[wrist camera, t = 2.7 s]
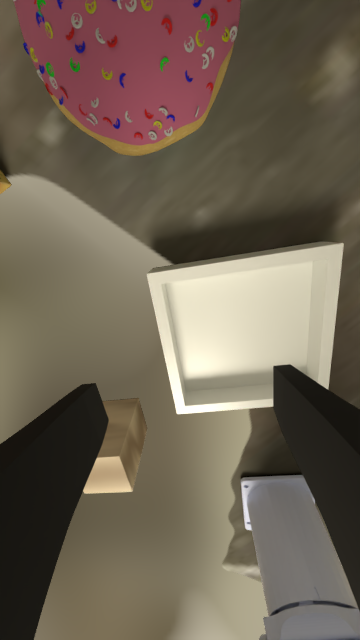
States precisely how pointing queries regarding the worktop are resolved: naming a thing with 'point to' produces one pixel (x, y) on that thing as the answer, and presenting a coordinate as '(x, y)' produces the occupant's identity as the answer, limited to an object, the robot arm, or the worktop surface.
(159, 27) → the cupcake
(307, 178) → the worktop surface
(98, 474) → the wooden block
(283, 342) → the tray
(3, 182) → the candy box
